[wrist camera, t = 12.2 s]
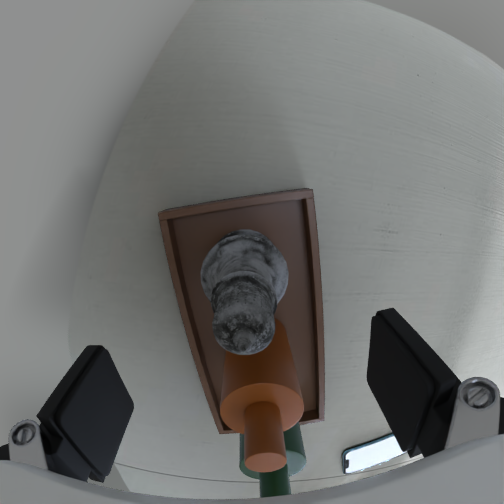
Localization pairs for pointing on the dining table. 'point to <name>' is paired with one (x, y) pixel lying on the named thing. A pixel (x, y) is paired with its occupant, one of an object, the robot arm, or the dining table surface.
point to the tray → (289, 307)
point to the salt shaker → (244, 290)
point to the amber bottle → (262, 401)
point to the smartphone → (371, 454)
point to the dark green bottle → (279, 479)
